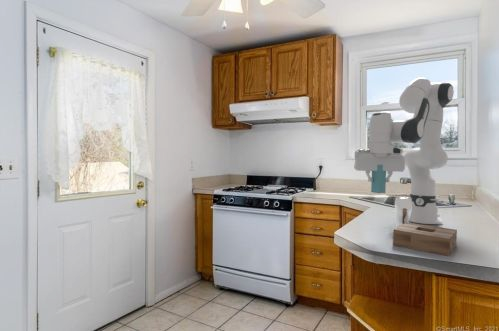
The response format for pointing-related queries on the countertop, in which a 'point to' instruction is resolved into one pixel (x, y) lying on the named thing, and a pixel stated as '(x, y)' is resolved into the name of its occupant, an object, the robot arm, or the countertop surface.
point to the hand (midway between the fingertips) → (378, 181)
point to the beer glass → (403, 210)
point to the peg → (378, 180)
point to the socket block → (425, 238)
